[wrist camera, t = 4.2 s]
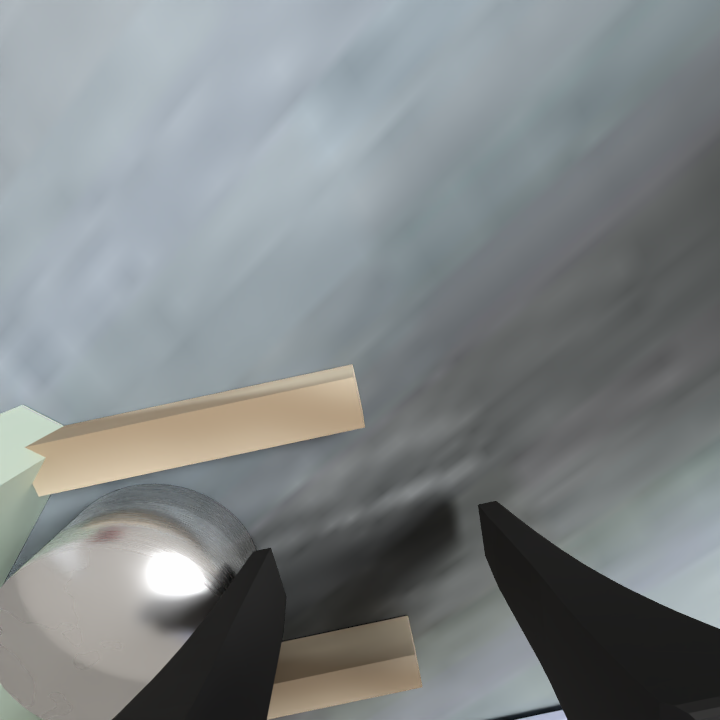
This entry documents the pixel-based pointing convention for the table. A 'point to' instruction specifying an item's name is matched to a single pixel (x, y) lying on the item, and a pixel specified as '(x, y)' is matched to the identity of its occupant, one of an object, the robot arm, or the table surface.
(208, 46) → the table surface
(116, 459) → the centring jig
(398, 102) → the table surface
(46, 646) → the aluminium cover
